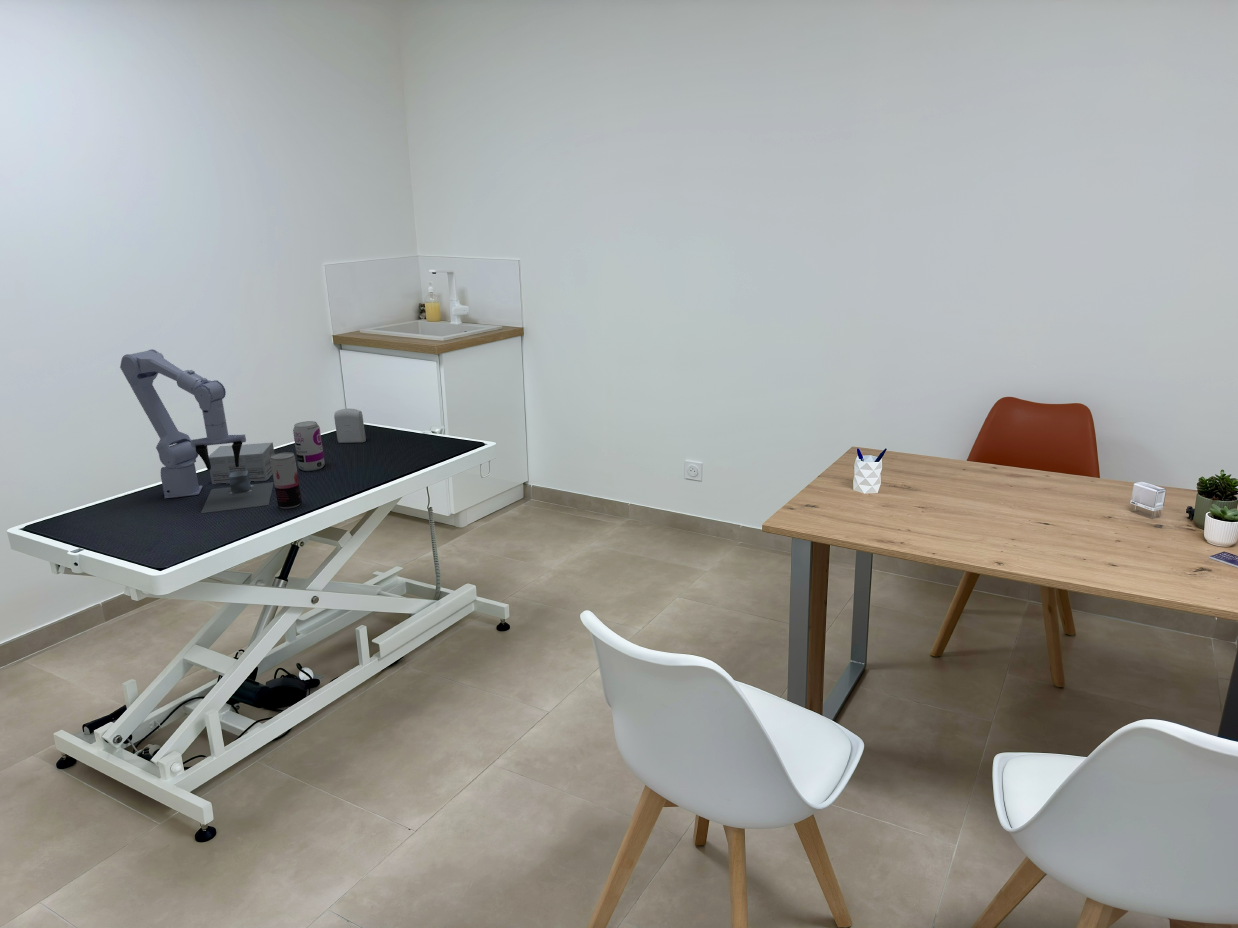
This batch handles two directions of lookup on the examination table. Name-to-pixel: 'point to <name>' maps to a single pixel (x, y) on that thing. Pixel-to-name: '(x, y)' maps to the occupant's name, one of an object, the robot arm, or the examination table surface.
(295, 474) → the beverage can
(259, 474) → the supplement box
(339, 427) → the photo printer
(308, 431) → the supplement can
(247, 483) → the slate cube
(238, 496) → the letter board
